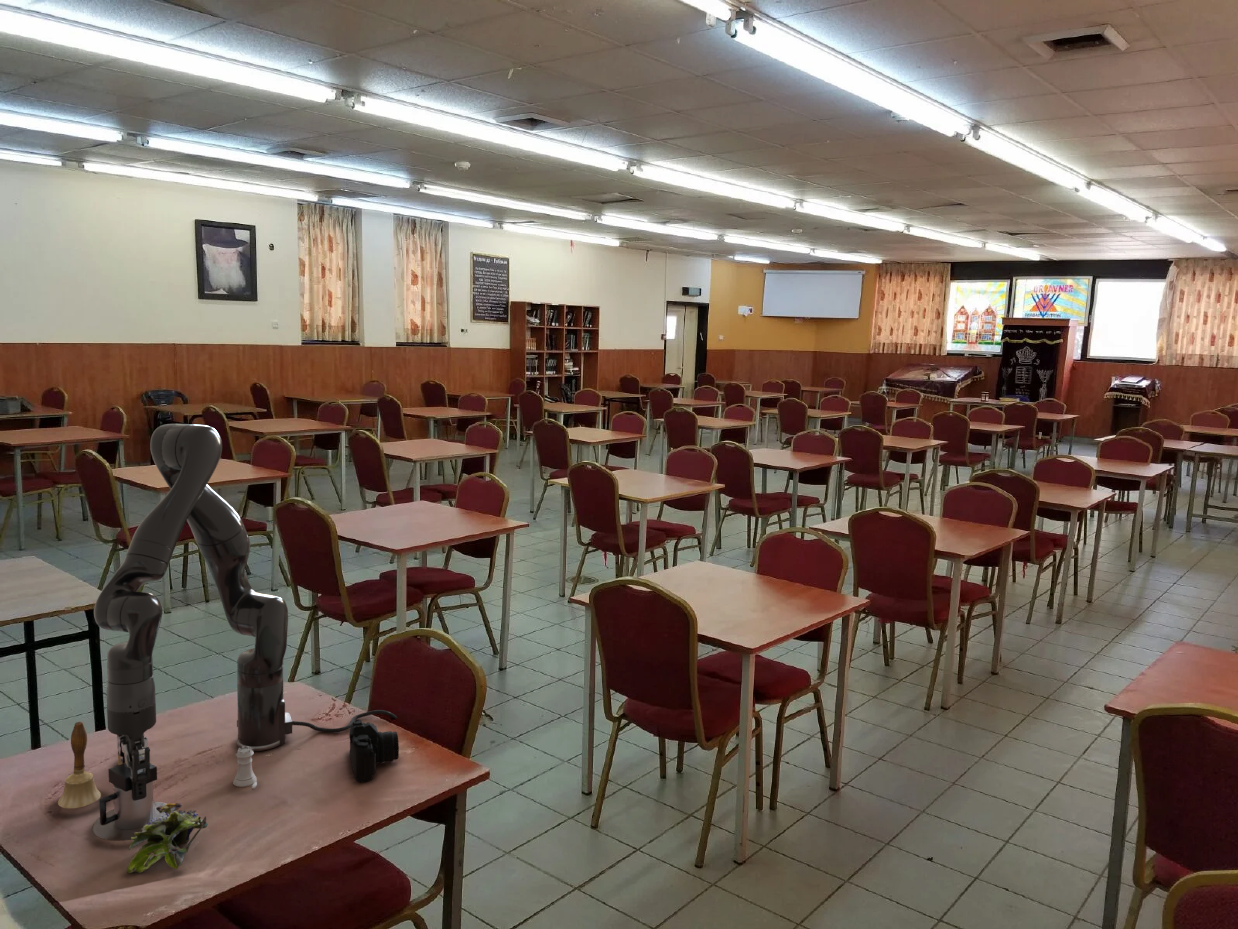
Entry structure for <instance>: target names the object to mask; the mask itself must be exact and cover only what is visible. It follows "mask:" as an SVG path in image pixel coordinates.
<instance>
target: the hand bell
mask: <svg viewBox="0 0 1238 929" xmlns="http://www.w3.org/2000/svg"><path fill="white" fill-rule="evenodd" d="M87 745H88V733H87V729H86V728H85V726H84V722H83V721H76V722H75V723H74V726H73V729H72V732H71V736H70V746H71V751H72V753H73V756H74V760H73V761H74V762H73V773H71V774H70V775H68V776H66V778H65V780H64V788H63V792H62V795H61V796H60V798H59V799H58V800H57V805H58V806H59V807H61V808H64V809H78V808H82V807H87V806H89V805H91V804H93V803H95V802H97V801H98V800H100V799H101V796H102V793H101V792H100V790H99V789H98V788H97V786H96V783H95V779H94V774H93V773H92V772H90V771H85V766H86V765H85V751H86V749H87Z"/></svg>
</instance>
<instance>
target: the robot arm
mask: <svg viewBox="0 0 1238 929" xmlns="http://www.w3.org/2000/svg"><path fill="white" fill-rule="evenodd" d="M149 445H150V453H151V458H152V460H153V462H154V464H155V466H156V468H157V471H158V472H159V473H160V475H161V477H162V478H163V480H164V482H165V483H166V485H167V486H168V488H169V491H168V492H167V493H166V495H165V496H164V497H163V498H162V499H161V500H160V501H159V503H157V504H156V505H155V506H154V507H153V509H152V510H150V511H149V512H148V514H147V515H145V517H144V518H143V519H142V521H140V523H139V525H138V526H137V527H136V530H135V532H134V534H133V535H132V538H131V541H130V544H129V546H128V548H127V551H126V554H125V557H124V559H123V562H122V563H121V565H120V566H119V568H118V569H116V571H115V573H114V574H113V576H112V577H111V578H110V580H109V581H108V582H107V584H106V585H105V586H104V587H103V589H102V590H101V592H100V594H99V595H98V597H97V599H96V601H95V604H94V607H93V608H94V609H93V617H94V621H95V623H96V625H97V626H98V627H99V628H101V629H103V630H106V631H113V632H122V633H128V639H127V641H122V642H119V643H116V644H114V645H112V646H111V647H110V648H109V649H108V651H107V655H106V669H107V670H106V675H107V676H106V677H107V686H106V714H107V717H106V718H107V730H108V731H109V733H111V734H113V735H115V736H116V738H117V737H118V750H117V755H118V754H119V756H120V757H121V759H120V762H121V763H125V764H126V768H128V769H130V776H131V777H130V780H131V791H132V799H133V800H134V801H136V800H140V799H144V798H145V797H146V796H147V793H146V779H150V763H151V756H150V755H151V754H150V753H151V748H150V746H149V741H148V740H149V739H148V737H147V736H145V733H146V732H147V731H148V730H150V729H152V728H153V727H155V725H156V723H157V700H156V682H155V678H154V677H155V676H154V657H153V653H154V649H155V645H156V641H157V638H158V637H157V636H158V634H159V630H160V626H161V623H162V619H163V606H162V603H161V601H160V600H159V598H158V597H157V596H156V595H155V594H153V593H150V592H144V591H139V589H141V587H142V586H143V585H146V584H148V583H149V584H150V583H155V582H159V581H161V580H163V579H164V577H165V575H166V573H167V571H168V569H169V565H170V563H171V560H172V558H173V554H174V551H175V550H176V549H175V548H176V545H177V542H178V540H179V537H180V535H181V534H182V531H183V529H184V527H185V524H186V523H188V525H189V528H190V530H191V533H192V535H193V537H194V540H195V543H196V545H197V547H198V549H199V551H200V554H201V555H202V557H203V559H204V561H205V563H206V565H207V567H208V570H209V572H210V575H211V577H212V579H213V582H214V584H215V586H216V589H217V592H218V596H219V598H220V601H221V602H220V603H221V604H222V608H223V612H224V615H225V617H226V620H227V623H228V625H229V626H230V628H231V629H232V631H233V632H235V633H237V634H239V635H241V636H246V637H252V638H255V641H254V647H252V648H249V649H247V650H244V651H242V652H241V653H239V654H238V655H237V659H236V681H237V682H236V683H237V684H236V688H237V689H236V691H237V719H236V728H237V741H236V744H237V748H238V749H239V748H241V749H242V747H243V746H244V749H245V748H246V747H247V746H249V749H250V747H251V748H252V751H253V752H263V751H268V750H271V749H275V748H277V747H278V746H281V745H285V744H286V735H292V734H293V726H298V727H299V726H302V727H308V728H310V729H311V730H313V731H317V732H322V733H341V732H344V731H347V730H350V727H351V725H352V724H353V721H355V720H357V719H361V718H364V717H368V716H373V715H385V716H388V717H390V718H392V719H397V718H398V717H397V715H396V714H394V713H392V712H390V711H388V710H383V709H376V710H370V711H366V712H362V713H358V714H356V715H354V716H353V717H352V718H351V720H350V721H349V722H348V724H347V725H345V726H342V727H335V728H329V727H321V726H317V725H315V724H313V723H310V722H307V721H299V720H297V721H296V720H295V721H294V720H292V718H291V714H290V712H286V702H285V699H284V658H285V655H286V652H287V647H288V632H289V630H288V629H289V610H288V608H289V607H288V605H287V603H286V600H285V599H284V598H282V597H280V596H278V595H273V594H268V593H262V592H257V591H256V590H254V589H253V587H252V585H251V584H250V582H249V579H248V577H247V573H246V566H247V563H248V560H249V556H250V553H251V540H250V537H249V534H248V532H247V530H246V527H245V525H244V522H243V519H242V518H241V516H240V515H239V513H238V512H237V510H236V509H235V508H234V507H233V506H232V505H231V504H230V503H228V501H226V499H224V497H222V496H221V495H220V494H219V493H217V492H216V490H214V489H213V488H212V487H211V486H210V485H209V484H208V483H209V482H210V480H211V478H212V476H213V475H214V473H215V471H216V469H217V467H218V464H219V462H220V460H221V456H222V452H223V441H222V438H221V435H220V434H219V432H218V431H217V430H216V429H215V428H214V427H212V426H209V425H207V424H188V423H167V424H162V425H159V426H158V427H157V428H156V429H155V430H154V431H153V433H152V434H151V437H150V444H149ZM132 760H133V762H130V761H132ZM139 769H142V770H143V772H140V773H137V771H138V770H139Z"/></svg>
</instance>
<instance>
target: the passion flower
mask: <svg viewBox="0 0 1238 929" xmlns="http://www.w3.org/2000/svg"><path fill="white" fill-rule="evenodd" d="M166 804H167V805H166V806H159V807H157V808H156V809H157V810H158V811H159V813H165V814H166V816H167V817H164V816H162V817H161V818H160V817H159V818H156V819H154V818H152V819H154V820H151V821H149V822H148V823H147V825H145V826H143V827H144V828H142V830H143V831H142V832H141V833H140V832H139V833H138V832H136V833H134V834H135V836H137V837H131V839H132V841H131V843H130V844H129V846H128V851H131V850H132V849H133V848H135V846H138V845H139V844H141V843H144V842H145V841H146V843H144V844H143V845H142V846H141V847H140V848H139V850H138V851H137V852H135V854H134V856H133V857H132V859H130V861H129V862H128V865H127V868H126V873H128V874H132V873H134V872H136V873H143V872H145V871H146V870H148V869H150V868H151V867H152V866H153V865H155V864H156V863H157V862H159V860H161V859H162V858H163V857H164V861H165V862H166V864H167V866H168V867H171V868H173V869H174V870H177V869H178V867H180V866H182V863H183V860H184V858H185V855H186V854H187V853H188V851H189V848H190V845H191V844H192V843H193V841H194V840H195V838H196V837H197V836H198V834H199V833H200V831H201V830H202V829H205V828H207V827H208V823H207V816H206V815H205V816H204V817H203V819H201V818H202V817H201V816H198V815H199V814H198V813H196V812H197V810H192V809H190V810H188V811H187V812H186V810H184V811H183V810H179V809H180V808H182V805H183V804H182V802H177V803H166ZM173 811H174V812H173ZM195 829H197V831H196V832H195V833H194V835H193V836H192V838H191V839H190V836H191V834H192V832H193V831H194V830H195ZM184 843H187V844H186V845H185V846H184V847H182V848H181V847H179V845H182V844H184ZM176 861H177V862H178V864H177V862H176Z"/></svg>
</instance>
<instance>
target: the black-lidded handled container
mask: <svg viewBox="0 0 1238 929" xmlns="http://www.w3.org/2000/svg"><path fill="white" fill-rule="evenodd" d="M130 762H133V760H132V761H130ZM140 772H143V770H142V769H139V770H138V771H137V773H140ZM130 777H131V776H130V769H128V768H126V764H125V763H123V764H121V765H118V764H117V765H115V766H113V767H110V768H108V783H110V784H112V785H113V786H112V793H111V794H109V795H106V796H104V797H100V798H99V801H98V802H99V817H100V824H101V825H106V824H108V823H111V822H113V821H114V825H115V826H116V827H117V828H119V829H125V830H128V829H135V828H139V827H142V826H145V825H147V823H148V822H149V821H151V820H153V819H152V818H154V803H153V802H154V782H155V781H157V780H158V766H156V765H155V764H153V763H151V762H150V779H146V793H147V796H146V797H145V798H144V799H140V800H136V801H134V800H133V799H132V791H131V780H130ZM111 801H113V809H114V815H113V816H110V817H108V818H107V815H106V813H107V803H110V802H111Z"/></svg>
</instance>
